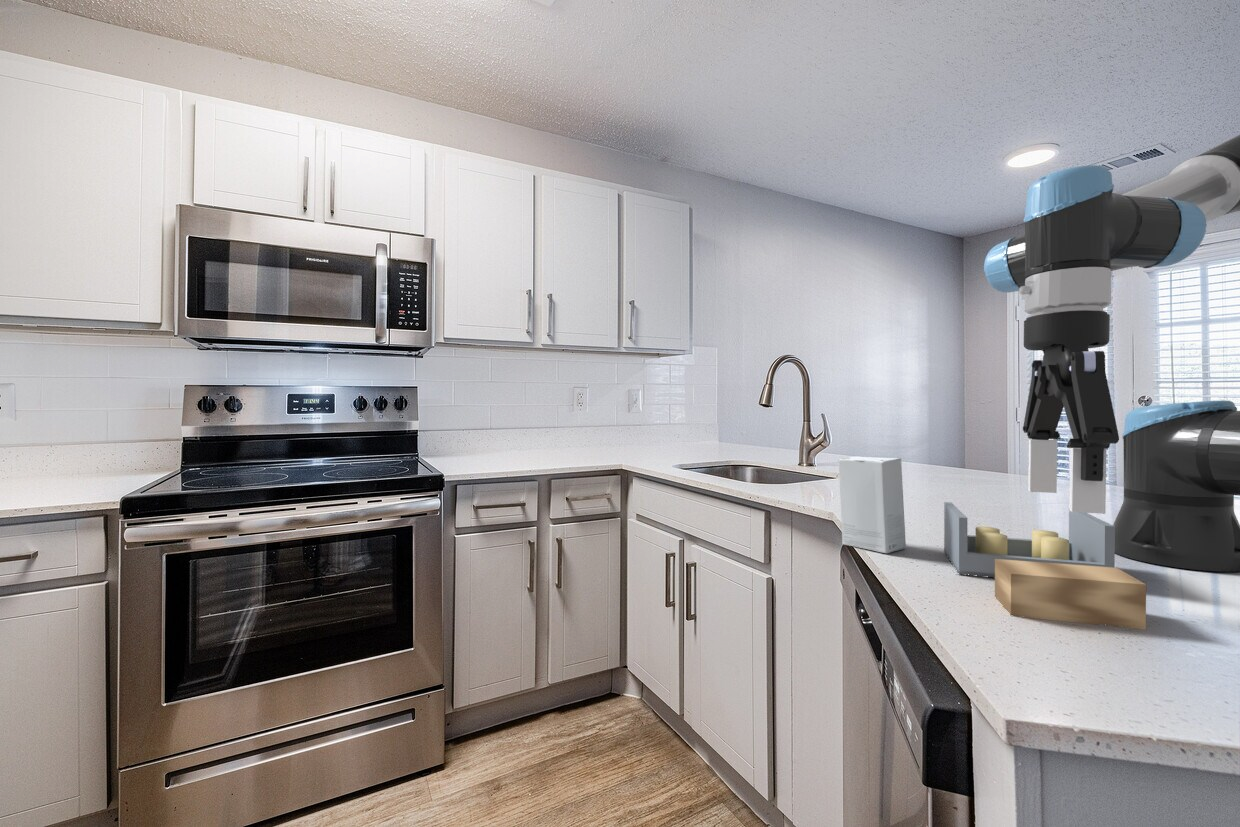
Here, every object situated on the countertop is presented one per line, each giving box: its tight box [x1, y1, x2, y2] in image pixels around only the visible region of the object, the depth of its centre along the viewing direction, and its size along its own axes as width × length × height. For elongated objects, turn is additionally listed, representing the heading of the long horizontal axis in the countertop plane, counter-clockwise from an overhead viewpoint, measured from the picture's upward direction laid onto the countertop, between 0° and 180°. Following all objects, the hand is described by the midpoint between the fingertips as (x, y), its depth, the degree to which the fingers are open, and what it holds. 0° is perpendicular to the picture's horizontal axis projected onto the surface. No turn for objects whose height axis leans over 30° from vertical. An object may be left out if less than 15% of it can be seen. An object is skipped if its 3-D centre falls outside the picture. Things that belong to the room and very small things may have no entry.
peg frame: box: [943, 501, 1116, 578], centre depth 78 cm, size 17×12×8 cm
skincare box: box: [838, 455, 907, 554], centre depth 91 cm, size 8×6×15 cm
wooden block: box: [994, 559, 1147, 630], centre depth 62 cm, size 12×6×5 cm, turn 70°
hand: (1062, 501), depth 62 cm, fingers open, 13 cm apart
